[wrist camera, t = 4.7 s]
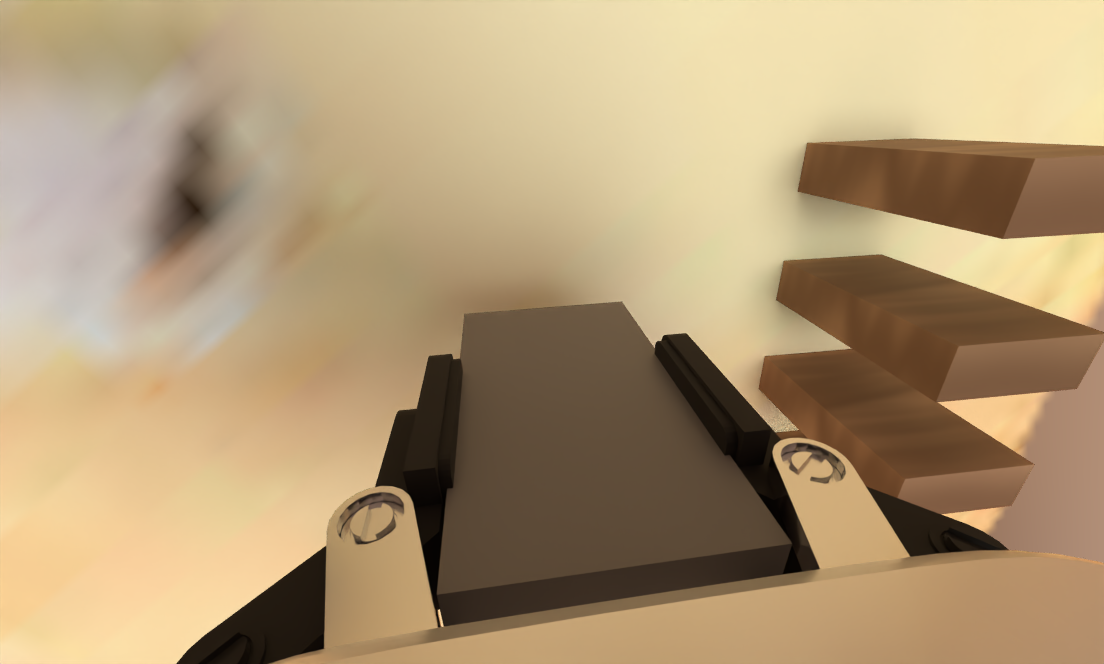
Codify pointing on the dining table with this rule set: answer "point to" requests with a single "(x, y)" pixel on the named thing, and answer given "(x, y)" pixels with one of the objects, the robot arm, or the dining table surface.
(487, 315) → the dark gray tile
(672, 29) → the dining table surface
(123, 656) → the dining table surface
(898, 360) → the tile
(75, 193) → the dining table surface
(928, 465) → the tile
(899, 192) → the tile
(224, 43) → the dining table surface
